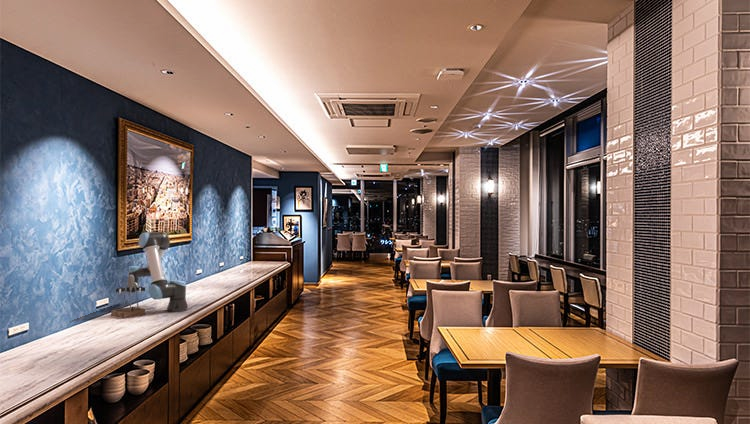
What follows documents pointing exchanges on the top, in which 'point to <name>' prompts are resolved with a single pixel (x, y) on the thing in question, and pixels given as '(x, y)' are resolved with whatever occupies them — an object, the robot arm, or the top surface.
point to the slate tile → (146, 307)
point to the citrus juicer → (130, 285)
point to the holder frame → (127, 312)
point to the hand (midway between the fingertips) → (129, 291)
